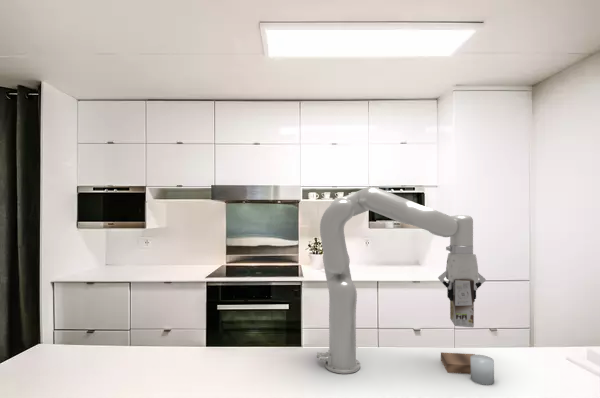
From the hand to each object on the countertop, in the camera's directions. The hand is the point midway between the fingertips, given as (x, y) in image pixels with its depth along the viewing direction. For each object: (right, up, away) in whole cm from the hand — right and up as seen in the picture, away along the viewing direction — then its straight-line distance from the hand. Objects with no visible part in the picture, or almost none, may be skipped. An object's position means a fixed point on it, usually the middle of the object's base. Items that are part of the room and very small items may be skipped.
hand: (461, 299), depth 134 cm
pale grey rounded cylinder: (+3, -24, -10) cm, 26 cm away
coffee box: (0, -8, 0) cm, 8 cm away
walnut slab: (0, -24, 0) cm, 24 cm away
